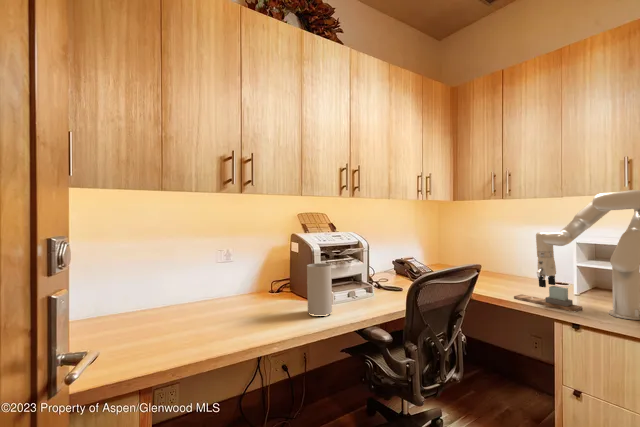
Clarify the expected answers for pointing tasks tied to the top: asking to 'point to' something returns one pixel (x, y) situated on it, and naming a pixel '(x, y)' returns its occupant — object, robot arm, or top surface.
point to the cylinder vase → (319, 288)
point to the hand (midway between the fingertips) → (547, 285)
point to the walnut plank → (542, 302)
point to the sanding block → (558, 296)
